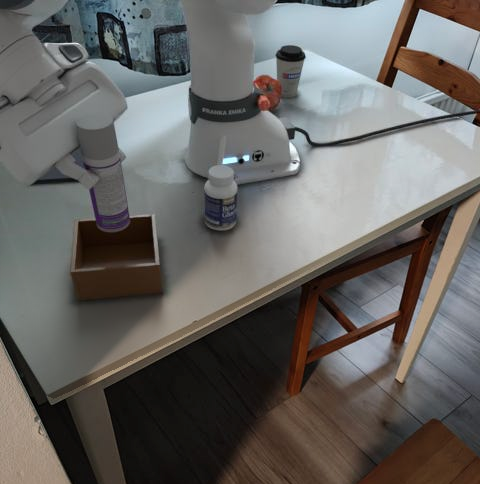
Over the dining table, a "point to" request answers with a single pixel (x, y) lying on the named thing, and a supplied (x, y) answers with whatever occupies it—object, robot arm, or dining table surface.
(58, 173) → the pad
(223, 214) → the pill bottle
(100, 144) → the container
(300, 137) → the dining table surface
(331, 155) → the dining table surface
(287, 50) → the coffee cup
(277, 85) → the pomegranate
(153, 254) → the wooden tray
